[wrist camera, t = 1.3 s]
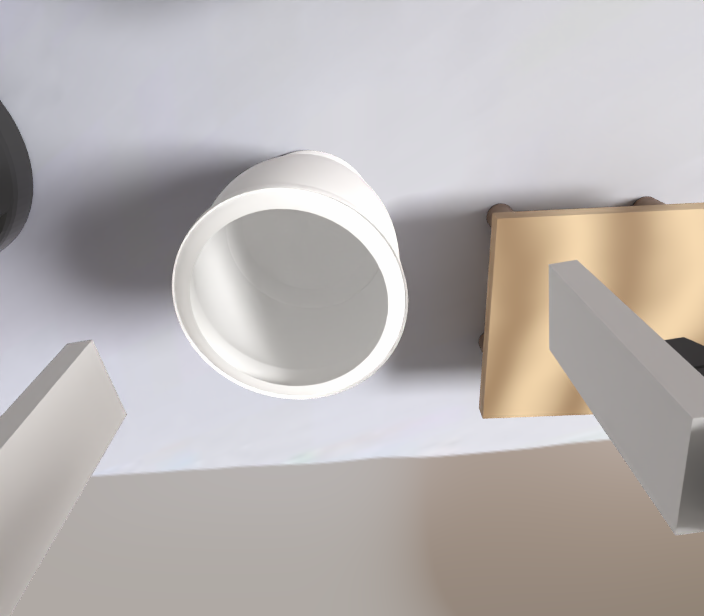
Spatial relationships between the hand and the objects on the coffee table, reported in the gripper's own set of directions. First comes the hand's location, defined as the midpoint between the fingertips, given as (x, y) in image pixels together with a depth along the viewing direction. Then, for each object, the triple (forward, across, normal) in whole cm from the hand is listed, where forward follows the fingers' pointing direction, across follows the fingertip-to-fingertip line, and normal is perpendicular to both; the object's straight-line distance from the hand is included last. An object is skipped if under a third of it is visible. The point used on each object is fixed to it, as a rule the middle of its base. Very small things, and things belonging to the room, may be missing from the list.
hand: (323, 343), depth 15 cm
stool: (+22, +15, -11) cm, 29 cm away
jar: (+23, -2, -2) cm, 23 cm away
